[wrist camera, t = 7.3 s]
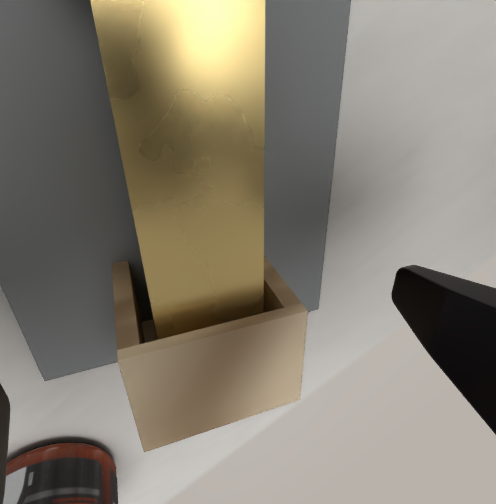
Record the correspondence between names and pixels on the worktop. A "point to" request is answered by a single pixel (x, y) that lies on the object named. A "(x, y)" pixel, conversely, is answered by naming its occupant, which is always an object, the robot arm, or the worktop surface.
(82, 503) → the supplement bottle
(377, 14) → the worktop surface
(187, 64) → the tube
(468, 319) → the robot arm
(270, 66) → the slate mat
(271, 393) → the maple socket
